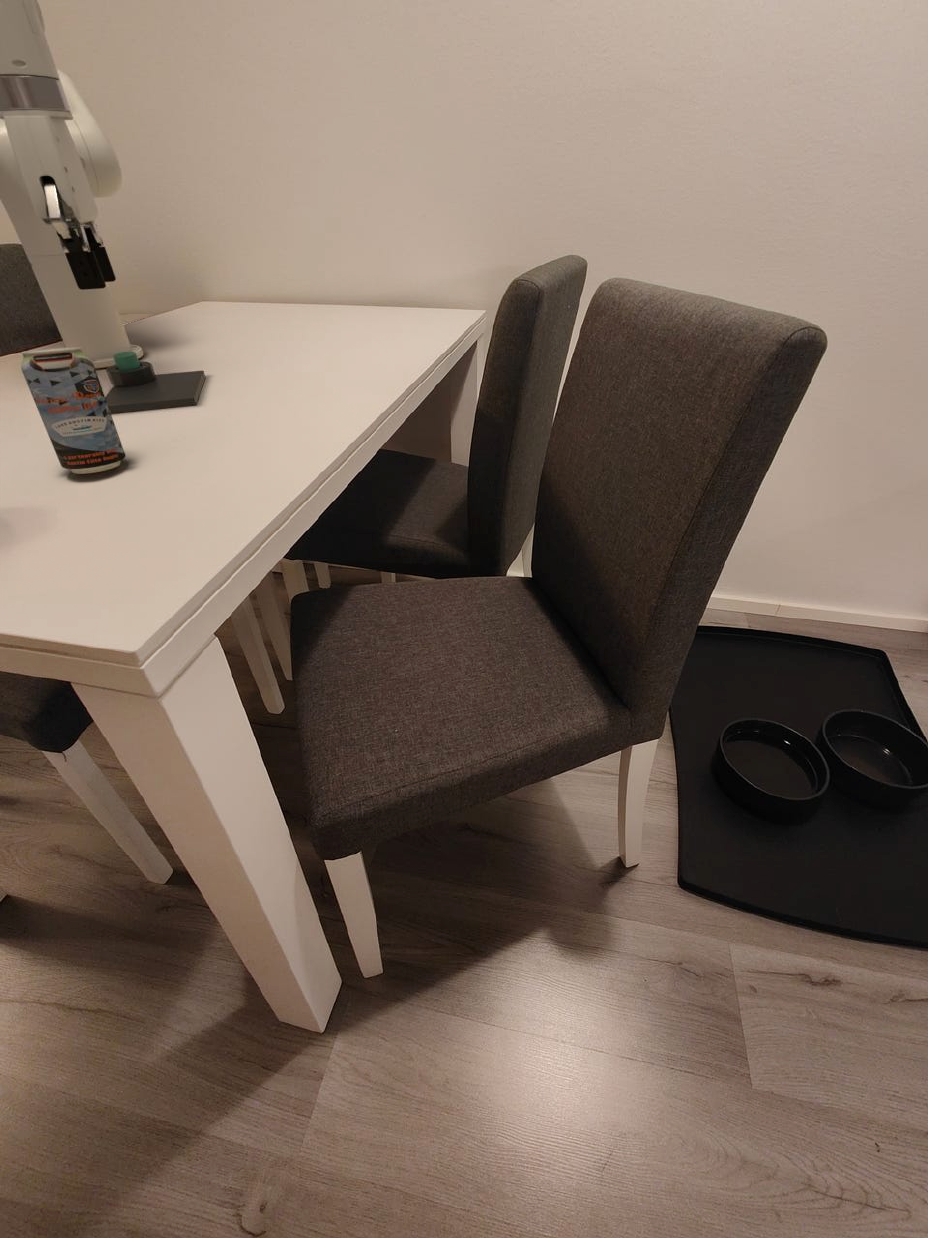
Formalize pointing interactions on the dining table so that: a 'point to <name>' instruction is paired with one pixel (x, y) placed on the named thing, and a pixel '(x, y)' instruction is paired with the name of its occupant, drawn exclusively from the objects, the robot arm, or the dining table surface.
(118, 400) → the scale
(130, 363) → the button
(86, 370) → the beverage can
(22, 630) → the dining table surface
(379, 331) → the dining table surface
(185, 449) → the dining table surface
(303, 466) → the dining table surface
